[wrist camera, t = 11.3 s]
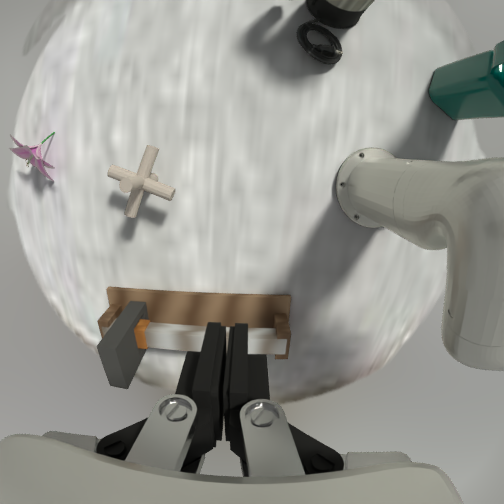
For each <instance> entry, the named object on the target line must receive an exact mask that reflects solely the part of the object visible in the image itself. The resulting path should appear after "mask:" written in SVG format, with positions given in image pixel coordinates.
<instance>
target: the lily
mask: <svg viewBox="0 0 504 504" xmlns="http://www.w3.org/2000/svg"><path fill="white" fill-rule="evenodd" d="M54 133H55V132H53V133H52V134H51V135H49V136H48V137H47V138H46V139H45V140H44V141H43V142H42V143H40V144H39V145H37V146H27V145H26V146H24V145H22V144H21V143H19V142H18V141H17V140H16V139H14V138H13V137H12V136H11V135H10V136H11V138H12V140H13V141H14V142H15V144H16V145H17V146H19V147H18V148H10V150H11V151H12V152H13V153H15V154H16V155H17V156H19V157H20V158H22V159H26V160H27V159H28V162H27V163H26V164H27V165H28V164H29V163H31V164H32V165H33V166H34V167H37V168H38V170H39V171H40V172H41V173H42V174H43V175H44V176H46V177H47V178H49V179H50V180H52V181H53V179H52V178H51V177H50V176H49V175H48V174H47V172H46V170H45V168H44V166H46V167H47V168H55V167H53V166H51V165H50V164H48V163H46V162H45V161H43V159H42V156H41V148H40V147H41V145H42V144H43V143H44V142H45V141H46V140H47V139H48V138H49V137H50V136H52V135H53V134H54ZM26 160H25V161H26ZM42 161H43V162H42ZM43 164H44V165H43ZM28 167H29V165H28Z"/></svg>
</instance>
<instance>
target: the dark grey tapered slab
mask: <svg viewBox="0 0 504 504" xmlns="http://www.w3.org/2000/svg"><path fill="white" fill-rule="evenodd" d="M140 319H144V320H149V318H148V312H147V305H146V302H139V301H130V302H129V303H128V304H127V306H126V307H125V308H124V310H123V311H122V312H121V314H120V315H119V316H118V318H117V319H116V320H115V322H114V323H113V325H112V326H111V327H110V329H109V330H108V331H107V333H106V334H105V336H104V337H103V338H102V340H101V341H100V343H99V344H98V345H97V349H98V352H99V355H100V358H101V361H102V364H103V367H104V370H105V373H106V375H107V378H108V381H109V384H110V385H111V386H114V387H119V388H124V389H128V388H129V385H130V383H131V381H132V379H133V377H134V375H135V373H136V370H137V368H138V366H139V364H140V362H141V360H142V358H143V356H144V354H145V352H146V349H142V348H138V346H137V342H136V337H135V333H134V328H135V327H136V325H137V323H138V322H139V320H140Z"/></svg>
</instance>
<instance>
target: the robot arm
mask: <svg viewBox="0 0 504 504" xmlns="http://www.w3.org/2000/svg"><path fill="white" fill-rule="evenodd" d="M359 154H361V157H359ZM340 183H342V184H343V185H342V186H340ZM336 193H337V198H338V201H339V204H340V206H341V208H342V210H343V211H344V213H345V214H346V215H347V216H348V217H349V218H350V219H351V220H353V221H354V222H355V223H357V224H359V225H361V226H365V227H370V228H376V227H382V226H383V227H385V228H387V229H388V230H390V231H392V232H394V233H395V234H397V235H399V236H401V237H402V238H404V239H406V240H408V241H409V242H411V243H413V244H415V245H416V246H418V247H421V248H423V249H427V250H441V249H445V248H447V278H446V290H445V299H444V307H443V316H442V325H441V333H442V340H443V344H444V346H445V348H446V350H447V352H448V353H449V354H450V355H451V356H452V357H453V358H454V359H455V360H457V361H458V362H460V363H462V364H464V365H466V366H469V367H472V368H476V369H482V370H492V371H504V158H486V159H478V160H470V161H456V162H452V161H431V160H413V159H397V158H396V157H395V156H394V155H392V154H391V153H389V152H387V151H386V150H383V149H379V148H365V149H361V150H358V151H356V152H354V153H353V154H351V155H350V156H349V157H348V158H347V159H346V160H345V162H344V163H343V164H342V166H341V168H340V170H339V173H338V176H337V182H336ZM355 215H356V217H355V218H354V216H355ZM223 419H225V435H226V441H230V450H231V451H233V452H234V453H235V454H236V455H237V456H239V457H240V463H241V469H242V475H243V477H229V476H213V475H203V474H200V471H201V468H202V465H203V462H204V459H205V453H207V452H209V451H210V450H212V449H213V447H216V440H220V441H221V440H222V431H223ZM0 504H463V501H462V499H461V497H460V495H459V493H458V491H457V490H456V487H455V486H454V484H453V483H452V481H451V480H450V478H449V477H448V476H447V474H446V473H445V472H444V471H443V470H441V469H440V468H438V467H436V466H434V465H430V464H425V463H416V462H412V461H411V459H410V458H409V457H408V456H407V454H404V453H402V452H348V453H347V454H339V453H338V452H336V451H335V450H333V449H332V448H330V447H328V446H326V445H324V444H323V443H321V442H319V441H317V440H316V439H314V438H312V437H310V436H309V435H307V434H305V433H303V432H302V431H300V430H299V429H297V428H296V427H294V426H292V425H291V424H289V423H288V422H287V419H286V416H285V413H284V411H283V409H282V407H281V406H280V405H278V404H277V403H275V402H273V401H271V400H270V395H269V382H268V369H267V357H266V354H248V323H235V326H230V330H229V339H228V348H226V326H221V322H208V323H207V327H206V331H205V335H204V339H203V344H202V348H201V352H197V351H188V352H187V354H186V358H185V361H184V365H183V368H182V372H181V375H180V379H179V382H178V386H177V389H176V393H175V394H174V395H168V396H165V397H163V398H161V399H160V400H159V401H158V402H157V403H156V405H155V407H154V408H153V410H152V412H151V414H150V416H149V417H148V418H146V419H144V420H142V421H140V422H137V423H135V424H133V425H131V426H129V427H126V428H124V429H122V430H119V431H117V432H114V433H112V434H110V435H107V436H106V437H104V438H102V439H97V437H96V436H88V435H79V434H71V433H64V432H57V431H49V432H47V433H45V434H44V435H43V436H38V435H30V434H15V435H10V436H7V437H5V438H4V439H2V440H1V441H0Z"/></svg>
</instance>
